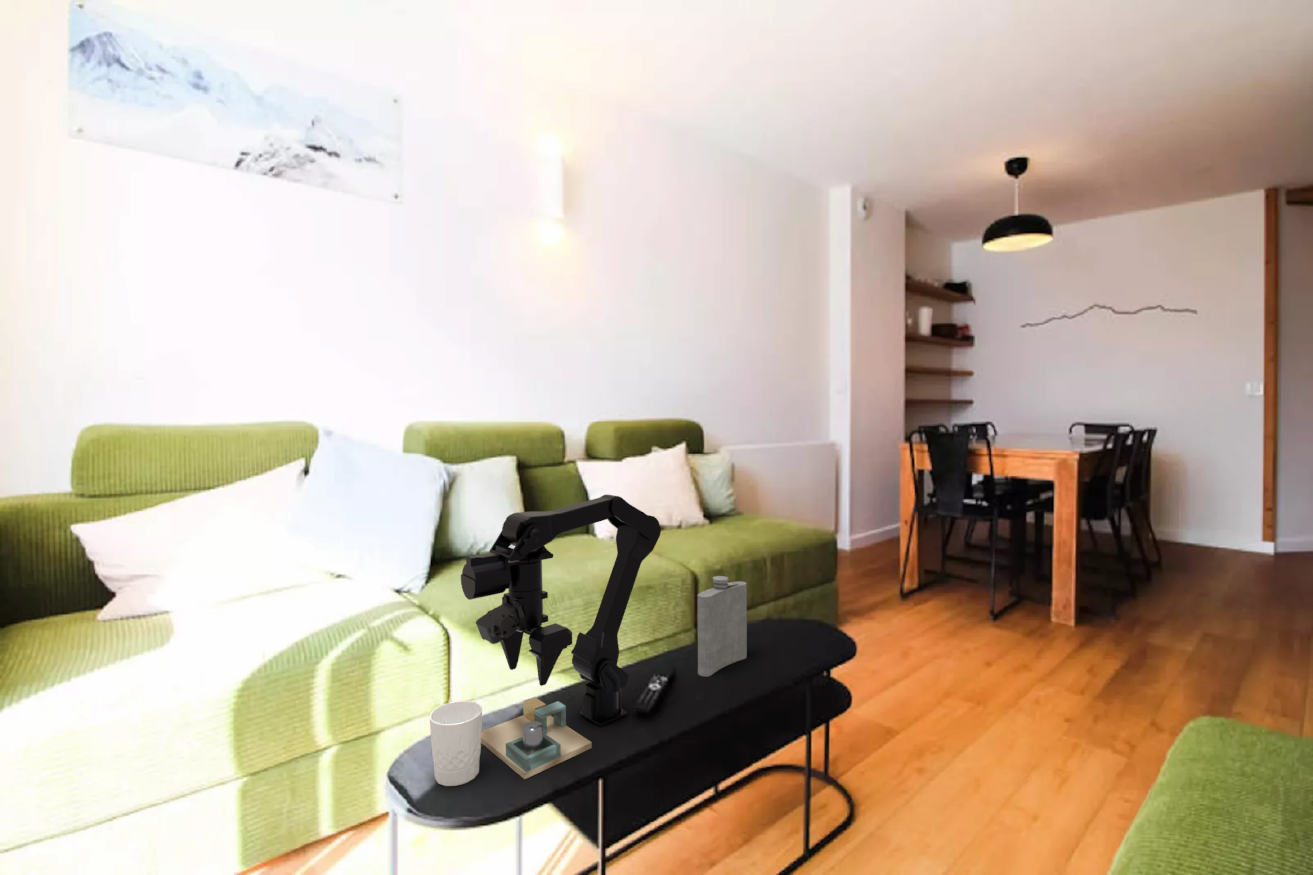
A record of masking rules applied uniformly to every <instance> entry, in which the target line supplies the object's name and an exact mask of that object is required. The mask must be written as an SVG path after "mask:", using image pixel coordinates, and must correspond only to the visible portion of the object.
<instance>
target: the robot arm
mask: <svg viewBox="0 0 1313 875" xmlns="http://www.w3.org/2000/svg"><path fill="white" fill-rule="evenodd" d="M605 520H606V521H608V522H609V523H610V524H611V525H612V526H613V527H614V528H615V529H617V531H616V534H615V535H616V536H615V542H616V550H617V551H616V552H617V554H616V557H615V561H614V564H613V566H612V570H611V573H610V575H609V578H608V580H607V583H606V587H605V590H604V593H603V596H602V598H601V601H600V605H599V608H598V610H597V614H596V617H595V619H594V622H593V624H592V626H591V628H590V629H588V631H587V632H586V633H583V632H579V633H578V634H577V636H576V640H575V645H574V647H573V649H572V650H571V651H570V652H571V654H572V658H571V664H572V666H573V668H574V670H575V672H577V673H578V674H579V677H580V679H582V680H583V681H586V682H588V683H586V684H584V690H585V691H584V693H583V709H582V710H580V714H579V715H581V716H583V717H585V718H586V719H587V720H590V721H591V722H592V723H594V724H596V725H597V726H600V727H602V726H604V725H607V724H608V723H611V722H613V721H615V720H618V719H621V718H622V717H625V716H627V711H626V710H625V709H623V708H622V689H623V688H625V687H626V686H627V684H628V679H629V674H628V673H626V672H625V671H624V670H623V669H622V668H621V667H620V666H619V665H618V662H619V656H620V647H619V638H618V635H619V630H620V627H621V625H622V622H623V619H624V616H625V613H626V609H627V607H628V604H629V600H630V597H631V595H632V592H633V589H634V585H635V582H636V580H637V577H638V574H639V571H640V568H641V564H642V563H643V561H644V560H645V559H646V558H647V557H648V556H649V555H650V554H651V553H652V552H653V551H654V549H655V547H656V545H657V543H658V540H659V539H660V536H661V532H662V526H661V524H660V521H659V520H658V518H657V517H655V516H653V515H649V514H647V513H645V512H644V511H642V510H640V509H638V508H636V506H634V505H632V504H630V503H629V502H628V501H626V500H625V499H624V498H623V497H621V496H619V495H612V494H604V495H602V496H599V497H597V498H593V499H589V500H585V501H582V502H578V503H575V504H571V505H567V506H564V507H561V508H558V509H557V508H556V509H553V510H547V511H537V510H536V511H518V512H513V513H510V514H509V515H507V517H506V518H505V520H504V522H503V524H502V527H501V528H502V529H501V531H500V533H499V535H498V536H497V538H496V540H495V541H494V543H493V544H492V545H491V548H490V549H489V553H487V554H480V555H476V554H475V555H468V556H466V557H465V564H464V566H463V568H462V570H461V571H462V572H461V574H460V584H461V589H462V592H463V594H464V596H465V598H466V599H467V600H469V601H470V600H476V599H481V598H484V597H489V596H495V595H498V594H499V595H500V594H503V595H502V598H501V604H500V605H498V606H497V607H494V608H493V609H491V610H488V611H487V612H486V613H485V614H484V615H481V617H479V618H477V620H476V621H475V624H476V627H477V629H478V631H479V632H478V633H479V634H480V637H481V639H482V640H483V641H487V642H489V643H490V644H493V645H495V644H499V643H500V645H501V647H502V650H503V653H504V655H505V659H506V662H507V665H508V668H509V670H511V671H513V670H515V669H517V666H518V662H519V658H520V654H521V649H522V648H521V647H522V643H523V638H524V634H526V635H529V636H528V644H529V647H530V648H531V649H529V650H528V652H530V654H532V655H533V656H534V657H535V660H536V670H537V676H538V682H539V683H538V684H539V686H540V687H543V686H546V684H547V683H548V681H549V679H550V677H551V674H552V673H553V669H554V667H555V665H556V663H557V661H558V659H559V657H560V656H561V653H562V652H563V650H565V649H567V648H568V647H569V646H572V645H573V631H572V630H570V628H568V627H566V626H563V625H561V624H559V623H551V624H548V625H545V626H543V624H545V623H548V622H549V614H545V613H544V601H543V600H545V599H548V598H549V596H548V591H546V590H543V561H544V560H548V559H553V558H554V554H553V553H552V552H551V551H550V550H548V548H546V546H545V545H548V544H550V543H551V542H552V541H554V540H555V538H557V537H558V536H561V535H562V534H563V533H566V532H567V533H568V532H570V531H573V530H576V529H579V528H584V527H588V526H589V525H592V524H596V523H599V522H603V521H605ZM511 546H513V548H512V547H511ZM506 590H507V591H508V592H506ZM504 592H506V593H504Z"/></svg>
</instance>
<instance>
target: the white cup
mask: <svg viewBox="0 0 1313 875" xmlns="http://www.w3.org/2000/svg"><path fill="white" fill-rule="evenodd" d="M482 718H483V707H482V705H481V704H480V703H478V702H476V701H472V700H456V701H451V702H446V703H444V704H442V705H439V706H437V707H436V708H434V709H433V710H432V711H431V713H430V714H429V726H430V727H429V728H430V729H429V730H430V741H431V742H430V744H431V751H432V752H431V754H432V760H433V762H432V763H433V771H434V772H433V773H434V779H435V782H436V783H437V784H439V785H442V786H444V787H457V786H460V785H464V784H467V783H469V782H471V781H472V780H474V779H475V778H476V777H477V776H478V774H479V773H480V757H481V753H482V752H481V747H482V743H481V731H482V725H483V724H482V723H483V719H482Z"/></svg>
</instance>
